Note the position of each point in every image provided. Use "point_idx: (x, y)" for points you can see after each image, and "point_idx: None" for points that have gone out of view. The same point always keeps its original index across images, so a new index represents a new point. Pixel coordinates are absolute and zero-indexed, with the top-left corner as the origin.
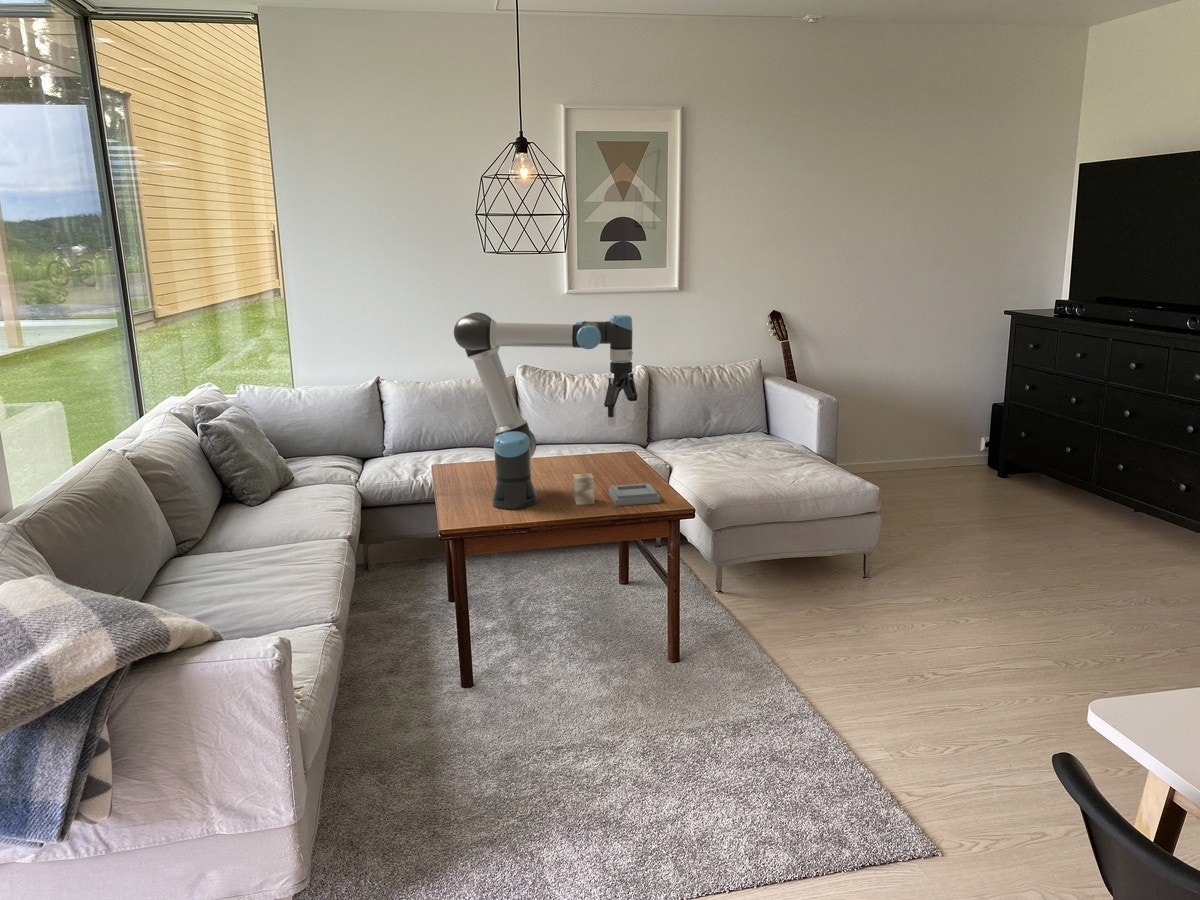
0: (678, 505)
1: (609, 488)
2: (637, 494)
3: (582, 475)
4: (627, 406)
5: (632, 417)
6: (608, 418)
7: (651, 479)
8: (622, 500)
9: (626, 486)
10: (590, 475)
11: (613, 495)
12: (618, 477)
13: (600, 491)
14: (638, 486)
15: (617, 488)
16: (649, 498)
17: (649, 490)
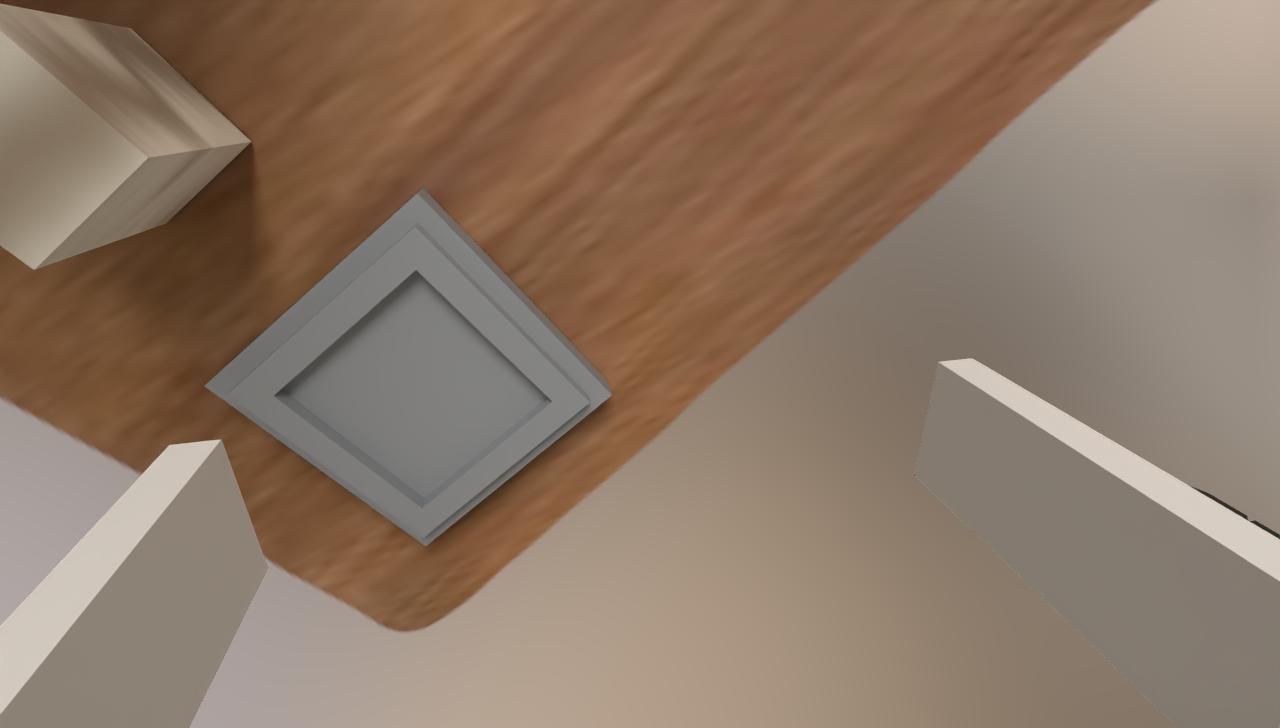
0: (444, 599)
1: (415, 201)
2: (336, 470)
3: (6, 123)
4: (1153, 534)
5: (942, 488)
6: (65, 576)
7: (839, 252)
8: (245, 411)
9: (465, 316)
10: (70, 202)
11: (282, 319)
12: (832, 17)
13: (457, 89)
14: (521, 368)
15: (381, 295)
16: (379, 508)
17: (464, 472)
